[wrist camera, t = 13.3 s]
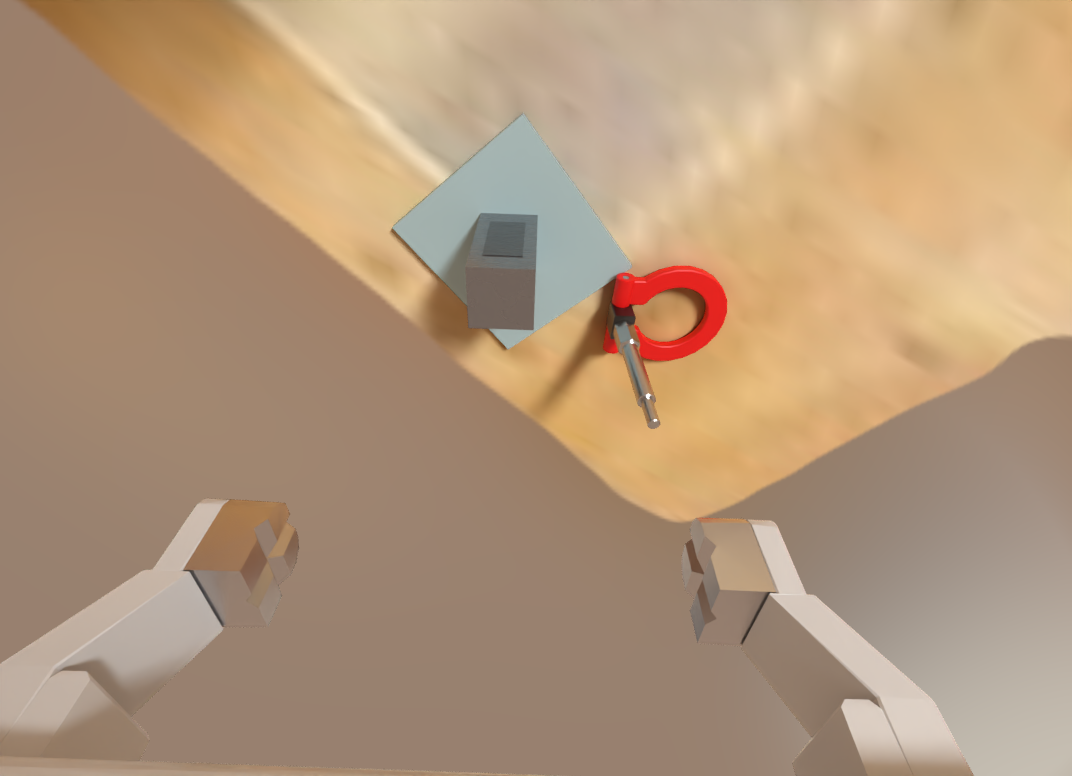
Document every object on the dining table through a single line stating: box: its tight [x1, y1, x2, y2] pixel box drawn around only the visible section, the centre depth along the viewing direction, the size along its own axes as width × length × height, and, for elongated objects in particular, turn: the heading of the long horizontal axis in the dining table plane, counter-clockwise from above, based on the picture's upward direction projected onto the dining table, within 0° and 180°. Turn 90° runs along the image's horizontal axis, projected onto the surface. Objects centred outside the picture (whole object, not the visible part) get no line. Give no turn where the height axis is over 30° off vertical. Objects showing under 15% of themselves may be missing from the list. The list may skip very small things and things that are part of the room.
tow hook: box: [603, 266, 727, 429], centre depth 38 cm, size 8×13×9 cm
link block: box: [465, 213, 538, 330], centre depth 35 cm, size 4×4×9 cm
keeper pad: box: [392, 113, 632, 349], centre depth 40 cm, size 13×12×1 cm
